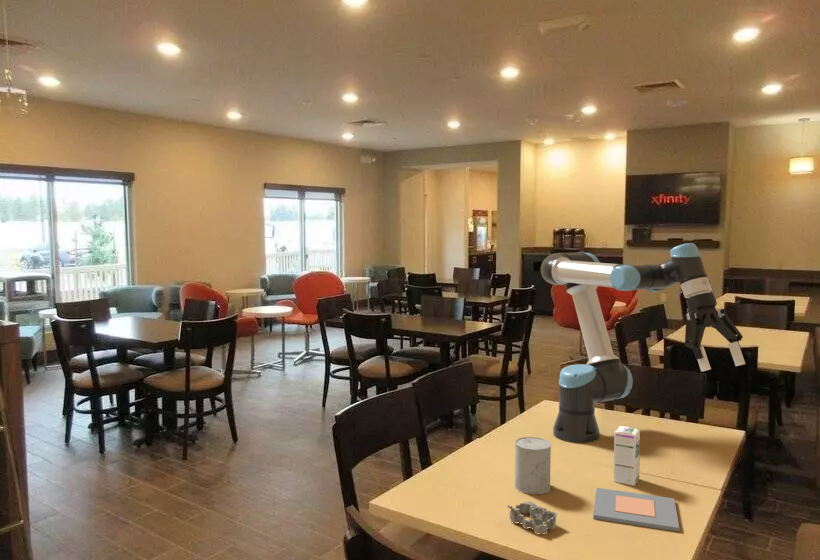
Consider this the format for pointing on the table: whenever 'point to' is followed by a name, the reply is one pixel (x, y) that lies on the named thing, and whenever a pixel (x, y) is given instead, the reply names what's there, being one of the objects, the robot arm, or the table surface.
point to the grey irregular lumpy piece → (537, 514)
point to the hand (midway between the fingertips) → (723, 367)
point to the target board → (636, 509)
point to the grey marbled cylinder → (532, 465)
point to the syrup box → (626, 455)
